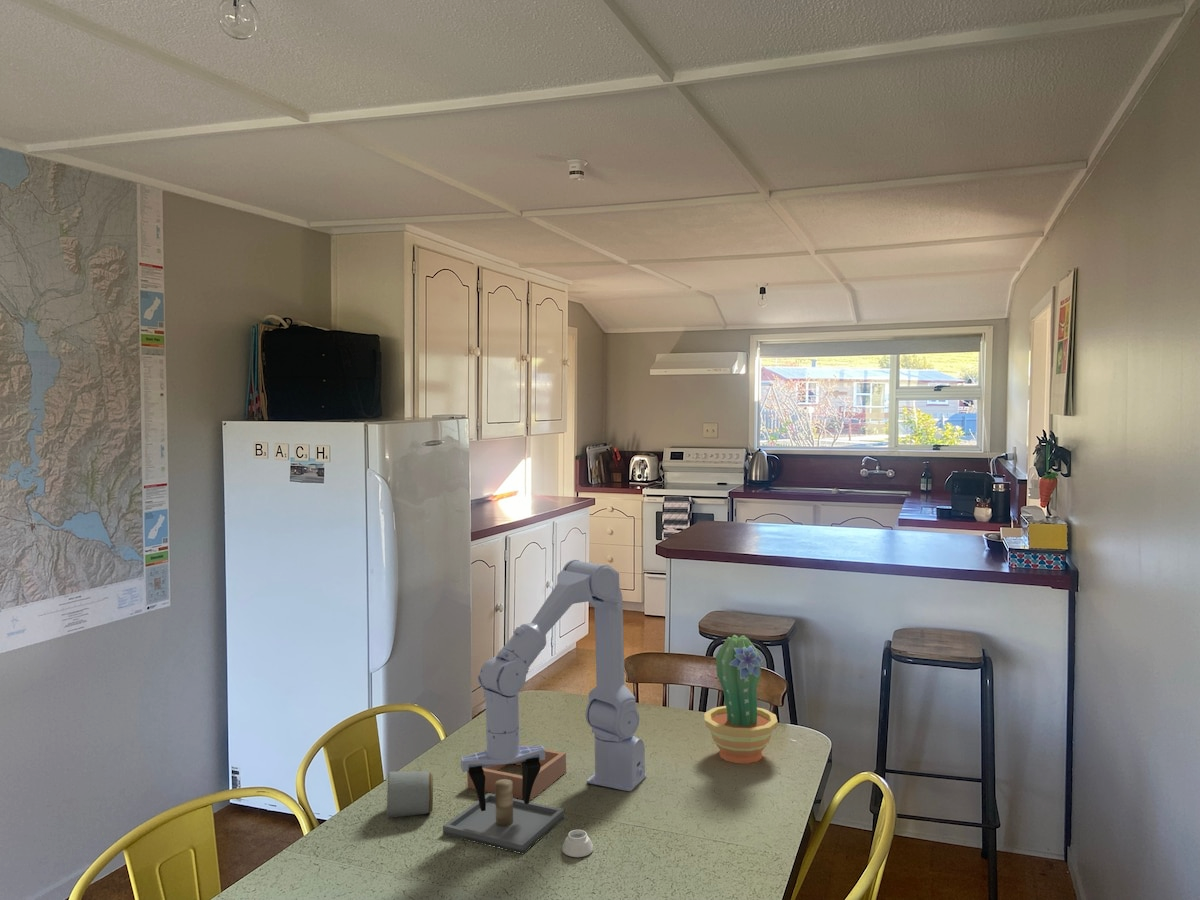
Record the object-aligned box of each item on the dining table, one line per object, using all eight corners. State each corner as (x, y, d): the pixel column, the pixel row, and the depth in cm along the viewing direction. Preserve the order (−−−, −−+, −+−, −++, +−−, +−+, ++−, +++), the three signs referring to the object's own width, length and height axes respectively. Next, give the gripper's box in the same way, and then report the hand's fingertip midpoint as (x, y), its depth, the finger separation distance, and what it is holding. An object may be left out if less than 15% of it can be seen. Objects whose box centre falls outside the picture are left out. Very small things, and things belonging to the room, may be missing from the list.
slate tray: (564, 817, 151) (564, 809, 151) (522, 854, 138) (522, 845, 138) (489, 800, 158) (489, 792, 158) (443, 834, 145) (442, 825, 145)
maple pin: (516, 820, 149) (515, 781, 148) (507, 827, 146) (506, 787, 146) (502, 817, 150) (501, 778, 150) (492, 824, 147) (491, 784, 147)
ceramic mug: (434, 820, 151) (433, 777, 150) (386, 825, 149) (385, 781, 149) (433, 795, 161) (432, 755, 161) (388, 800, 159) (387, 759, 159)
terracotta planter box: (566, 772, 170) (565, 752, 170) (529, 801, 157) (529, 780, 157) (507, 761, 176) (506, 742, 176) (467, 787, 164) (467, 767, 163)
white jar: (599, 850, 139) (576, 841, 143) (599, 832, 139) (576, 823, 143) (579, 862, 136) (556, 853, 139) (579, 844, 135) (555, 835, 139)
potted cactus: (695, 764, 173) (694, 642, 172) (713, 737, 187) (711, 625, 186) (771, 774, 167) (770, 648, 167) (783, 745, 182) (782, 630, 181)
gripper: (537, 715, 153) (539, 789, 154) (457, 725, 149) (459, 801, 149) (547, 728, 147) (549, 805, 147) (463, 739, 142) (465, 819, 143)
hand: (504, 804), depth 148 cm, fingers open, 7 cm apart
